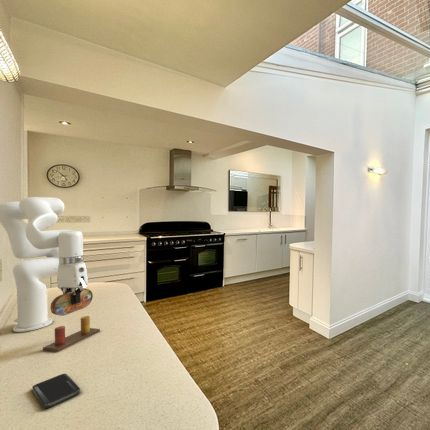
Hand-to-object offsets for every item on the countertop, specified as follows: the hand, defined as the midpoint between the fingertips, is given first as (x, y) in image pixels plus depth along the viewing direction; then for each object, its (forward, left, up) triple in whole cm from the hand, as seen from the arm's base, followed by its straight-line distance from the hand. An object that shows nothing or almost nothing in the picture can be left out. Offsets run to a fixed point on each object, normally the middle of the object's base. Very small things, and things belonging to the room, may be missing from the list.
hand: (72, 302), depth 112 cm
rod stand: (0, 0, -16) cm, 16 cm away
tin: (0, 0, -4) cm, 4 cm away
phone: (+28, -27, -16) cm, 42 cm away
